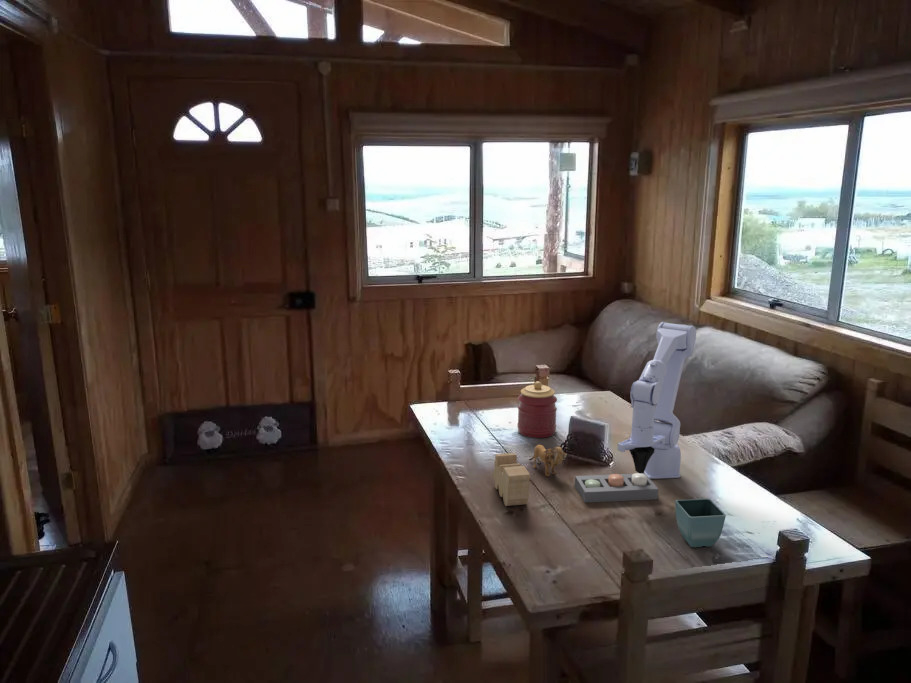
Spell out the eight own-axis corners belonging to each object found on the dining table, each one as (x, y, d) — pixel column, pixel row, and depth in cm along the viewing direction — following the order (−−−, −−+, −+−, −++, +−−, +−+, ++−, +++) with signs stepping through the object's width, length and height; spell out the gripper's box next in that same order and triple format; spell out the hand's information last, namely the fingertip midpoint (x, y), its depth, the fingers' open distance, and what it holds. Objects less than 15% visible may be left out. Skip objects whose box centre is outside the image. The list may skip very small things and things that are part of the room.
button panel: (644, 482, 193) (644, 473, 193) (657, 499, 184) (658, 488, 183) (574, 485, 192) (575, 476, 191) (584, 502, 182) (585, 492, 181)
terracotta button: (620, 483, 190) (621, 473, 189) (625, 490, 186) (625, 480, 185) (606, 484, 189) (606, 474, 188) (610, 491, 185) (611, 480, 185)
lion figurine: (568, 476, 198) (569, 447, 196) (554, 481, 195) (555, 451, 193) (535, 459, 210) (536, 431, 207) (521, 463, 207) (522, 435, 204)
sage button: (597, 489, 189) (597, 479, 189) (601, 495, 185) (602, 485, 185) (582, 489, 189) (583, 479, 188) (586, 496, 185) (587, 486, 184)
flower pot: (671, 533, 167) (674, 499, 164) (706, 531, 167) (709, 497, 165) (686, 552, 158) (689, 517, 156) (723, 550, 159) (726, 515, 157)
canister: (562, 429, 234) (564, 379, 230) (545, 441, 223) (547, 389, 219) (527, 422, 241) (529, 373, 237) (510, 433, 230) (511, 383, 226)
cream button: (643, 482, 190) (643, 472, 189) (648, 489, 186) (649, 479, 186) (629, 483, 190) (629, 473, 189) (634, 490, 186) (634, 479, 185)
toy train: (511, 482, 194) (512, 449, 192) (529, 510, 178) (530, 474, 176) (492, 483, 193) (493, 450, 191) (508, 512, 177) (509, 476, 175)
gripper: (654, 416, 190) (651, 461, 193) (611, 423, 184) (608, 470, 188) (672, 424, 184) (668, 471, 187) (628, 432, 178) (625, 480, 181)
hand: (639, 471), depth 187 cm, fingers closed
